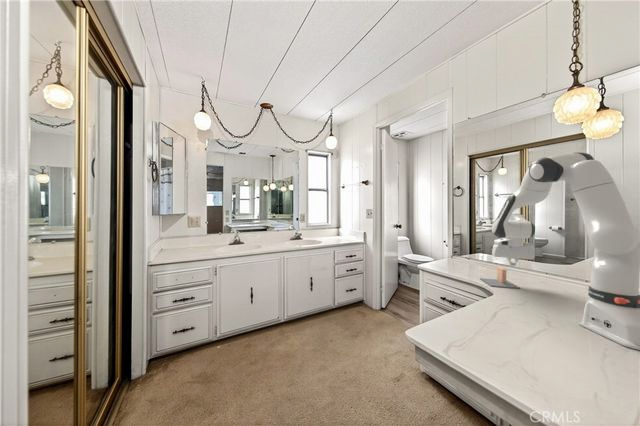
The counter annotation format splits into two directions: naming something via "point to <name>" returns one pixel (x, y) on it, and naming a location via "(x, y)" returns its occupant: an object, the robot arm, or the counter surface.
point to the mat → (497, 284)
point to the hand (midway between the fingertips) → (512, 265)
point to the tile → (501, 275)
